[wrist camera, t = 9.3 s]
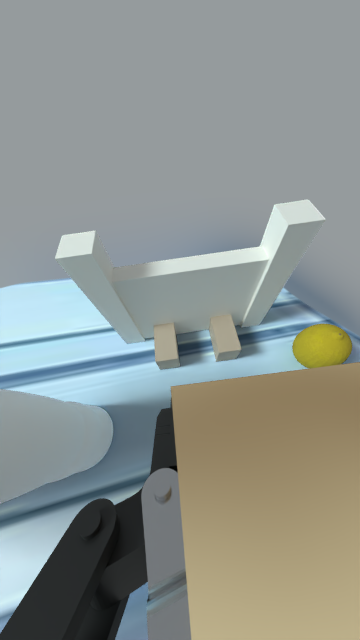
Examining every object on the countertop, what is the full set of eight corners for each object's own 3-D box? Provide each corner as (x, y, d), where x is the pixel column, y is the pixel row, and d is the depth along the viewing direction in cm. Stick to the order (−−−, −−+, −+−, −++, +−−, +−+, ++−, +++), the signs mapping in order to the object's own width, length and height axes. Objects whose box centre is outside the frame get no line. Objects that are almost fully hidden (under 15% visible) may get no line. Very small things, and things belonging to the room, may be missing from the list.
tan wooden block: (257, 475, 12) (629, 773, 2) (196, 482, 12) (206, 821, 2) (238, 399, 14) (350, 334, 4) (187, 406, 14) (168, 357, 4)
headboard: (270, 354, 28) (364, 263, 12) (126, 374, 28) (38, 310, 12) (253, 309, 32) (308, 199, 16) (127, 327, 32) (62, 235, 16)
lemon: (314, 384, 25) (358, 369, 18) (276, 358, 28) (303, 336, 21) (330, 355, 27) (377, 331, 20) (294, 333, 29) (324, 304, 22)
